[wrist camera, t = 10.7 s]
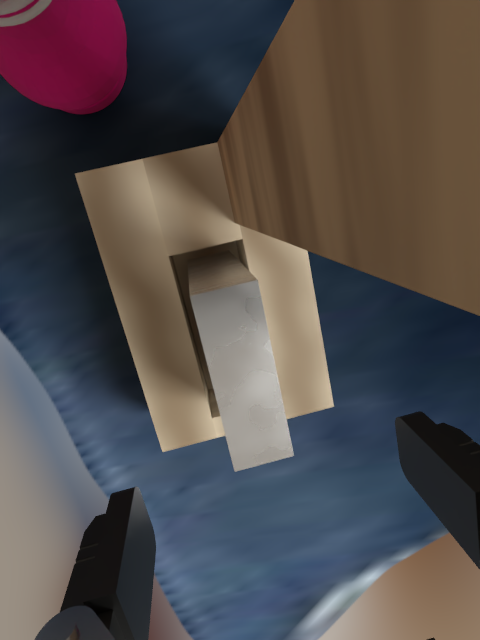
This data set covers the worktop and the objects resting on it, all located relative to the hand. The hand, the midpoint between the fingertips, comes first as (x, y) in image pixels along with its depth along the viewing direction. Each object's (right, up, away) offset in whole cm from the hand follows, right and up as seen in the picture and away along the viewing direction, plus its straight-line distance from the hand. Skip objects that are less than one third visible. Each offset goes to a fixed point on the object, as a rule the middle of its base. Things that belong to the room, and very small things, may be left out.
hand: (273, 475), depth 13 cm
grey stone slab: (-2, +5, +18) cm, 19 cm away
